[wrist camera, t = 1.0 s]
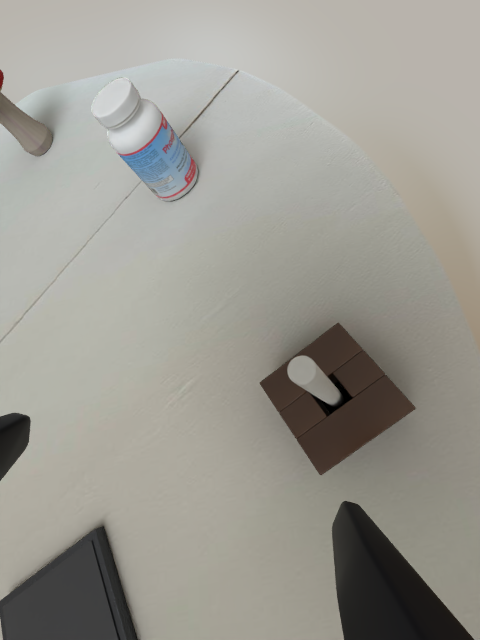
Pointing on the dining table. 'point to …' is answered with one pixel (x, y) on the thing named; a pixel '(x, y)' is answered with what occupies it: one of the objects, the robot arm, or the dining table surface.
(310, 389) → the stylus
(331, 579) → the dining table surface
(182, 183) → the pill bottle
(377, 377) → the pen stand
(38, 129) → the decorative mushroom
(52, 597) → the tablet
